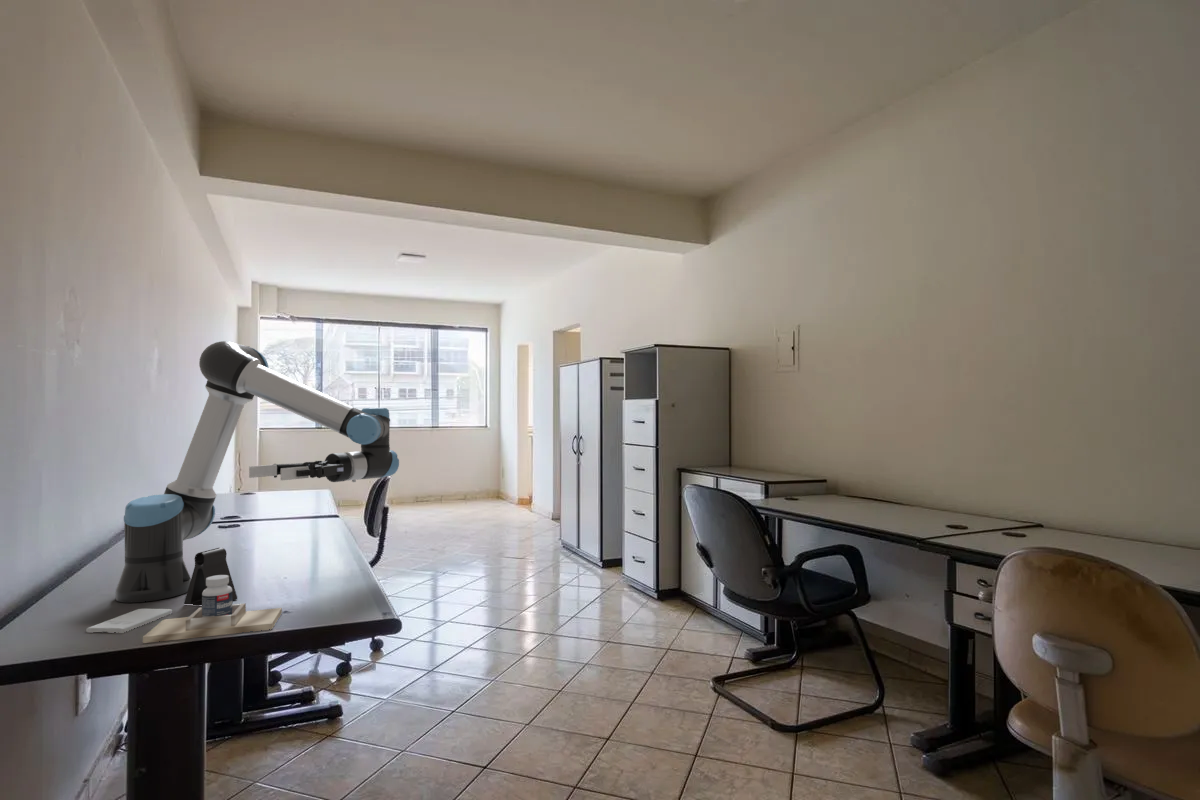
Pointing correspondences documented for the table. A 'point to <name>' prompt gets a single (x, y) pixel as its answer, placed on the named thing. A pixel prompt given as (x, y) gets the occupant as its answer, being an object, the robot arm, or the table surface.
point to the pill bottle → (217, 597)
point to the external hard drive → (129, 620)
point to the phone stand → (207, 574)
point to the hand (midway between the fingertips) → (265, 473)
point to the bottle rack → (213, 624)
